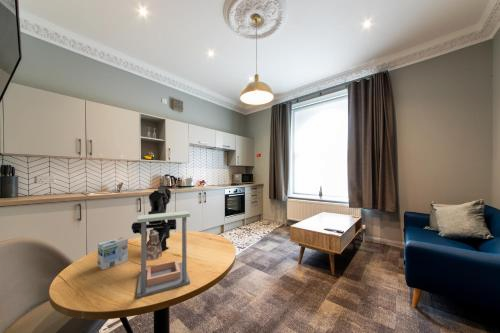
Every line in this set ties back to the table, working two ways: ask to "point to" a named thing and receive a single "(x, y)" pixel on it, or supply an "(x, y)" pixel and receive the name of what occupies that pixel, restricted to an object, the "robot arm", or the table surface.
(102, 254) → the light bulb box
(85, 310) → the table surface
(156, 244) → the figurine
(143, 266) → the awning stand
